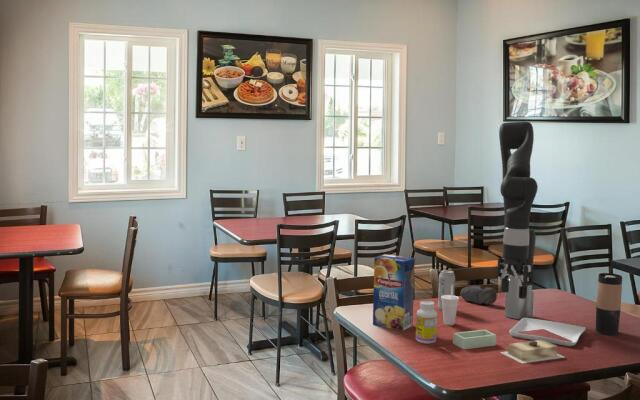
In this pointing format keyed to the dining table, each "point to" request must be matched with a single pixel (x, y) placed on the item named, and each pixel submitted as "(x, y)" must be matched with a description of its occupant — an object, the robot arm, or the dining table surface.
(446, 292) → the energy drink can
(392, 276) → the juice carton
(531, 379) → the dining table surface
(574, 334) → the salad plate
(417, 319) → the supplement bottle
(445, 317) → the smoothie
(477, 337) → the dish
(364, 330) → the dining table surface
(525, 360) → the mat
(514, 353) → the lid
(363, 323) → the dining table surface
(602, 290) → the travel mug
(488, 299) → the perforated stone tool
